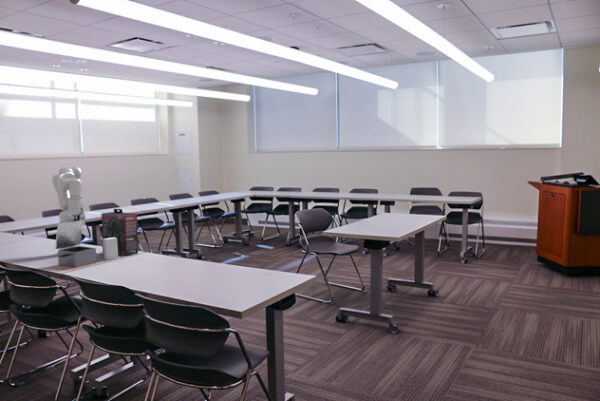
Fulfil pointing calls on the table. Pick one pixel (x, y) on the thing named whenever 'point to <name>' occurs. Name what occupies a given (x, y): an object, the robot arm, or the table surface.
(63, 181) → the robot arm
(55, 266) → the trivet mat
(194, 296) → the table surface
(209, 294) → the table surface
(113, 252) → the skincare box
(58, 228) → the lid
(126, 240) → the headset box
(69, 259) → the gray storage bin
